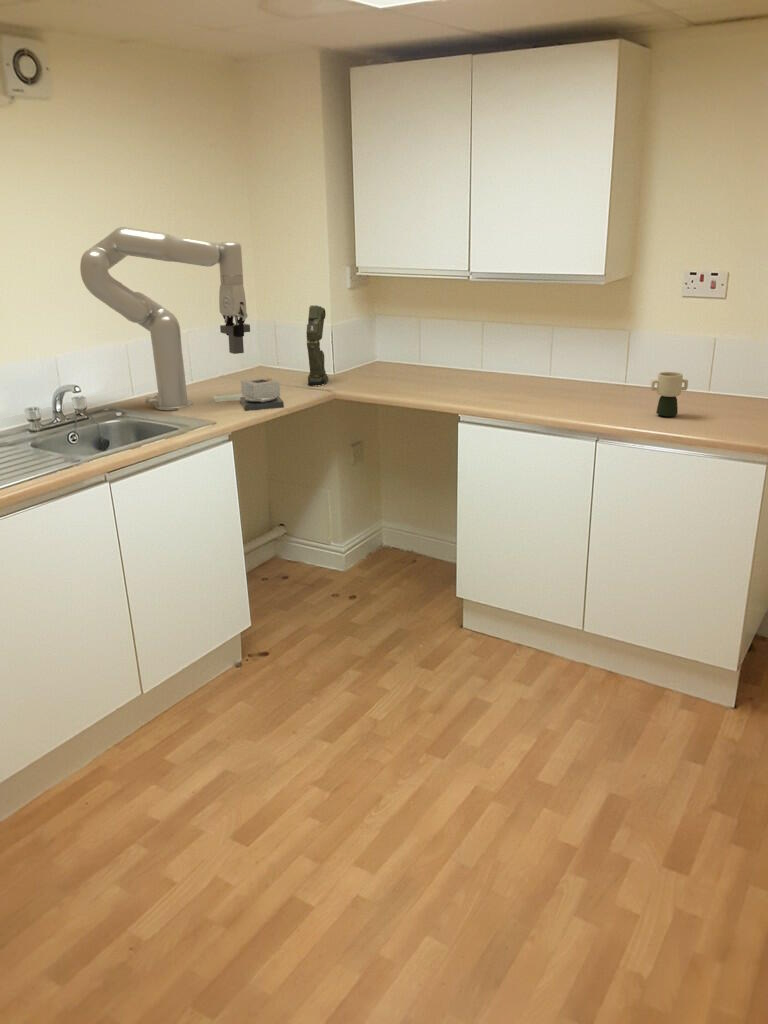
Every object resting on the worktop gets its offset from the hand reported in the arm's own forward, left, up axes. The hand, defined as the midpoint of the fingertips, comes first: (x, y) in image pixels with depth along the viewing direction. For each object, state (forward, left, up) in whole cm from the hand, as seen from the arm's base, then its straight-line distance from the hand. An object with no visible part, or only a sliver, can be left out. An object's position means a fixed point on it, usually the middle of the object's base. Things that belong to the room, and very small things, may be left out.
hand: (235, 335), depth 284 cm
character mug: (+122, -74, -23) cm, 144 cm away
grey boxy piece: (+6, -9, -21) cm, 23 cm away
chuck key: (0, 0, -6) cm, 6 cm away
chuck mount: (+6, -9, -23) cm, 25 cm away
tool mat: (-3, +4, -23) cm, 23 cm away
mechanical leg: (+32, +20, -23) cm, 44 cm away
